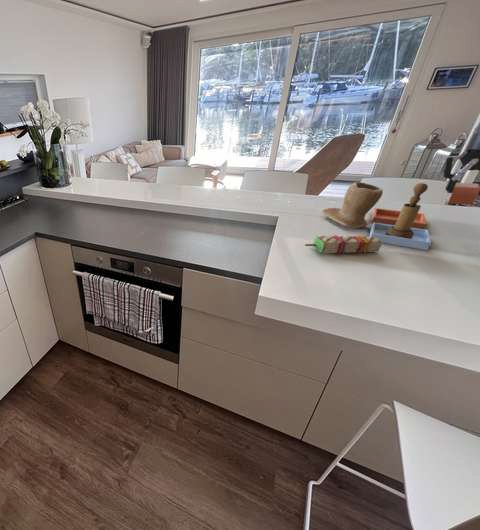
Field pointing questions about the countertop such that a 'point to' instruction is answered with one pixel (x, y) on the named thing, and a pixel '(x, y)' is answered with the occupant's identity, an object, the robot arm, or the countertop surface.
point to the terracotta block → (463, 193)
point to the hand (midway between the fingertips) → (462, 193)
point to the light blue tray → (418, 240)
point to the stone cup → (355, 205)
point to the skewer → (346, 244)
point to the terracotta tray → (396, 218)
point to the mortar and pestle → (408, 215)
